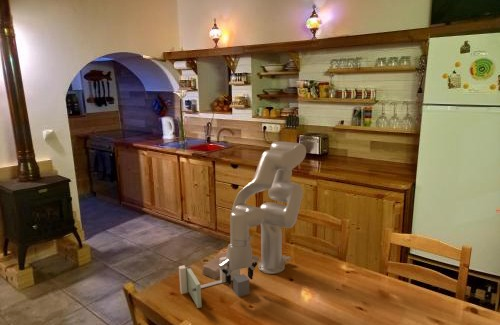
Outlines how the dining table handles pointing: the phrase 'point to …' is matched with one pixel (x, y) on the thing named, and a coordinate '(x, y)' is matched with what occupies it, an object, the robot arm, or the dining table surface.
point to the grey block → (241, 285)
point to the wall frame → (222, 279)
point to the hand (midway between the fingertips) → (239, 280)
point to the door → (193, 287)
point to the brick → (213, 267)
